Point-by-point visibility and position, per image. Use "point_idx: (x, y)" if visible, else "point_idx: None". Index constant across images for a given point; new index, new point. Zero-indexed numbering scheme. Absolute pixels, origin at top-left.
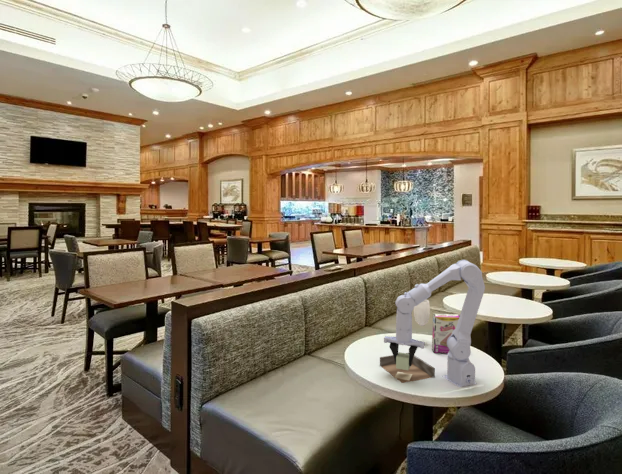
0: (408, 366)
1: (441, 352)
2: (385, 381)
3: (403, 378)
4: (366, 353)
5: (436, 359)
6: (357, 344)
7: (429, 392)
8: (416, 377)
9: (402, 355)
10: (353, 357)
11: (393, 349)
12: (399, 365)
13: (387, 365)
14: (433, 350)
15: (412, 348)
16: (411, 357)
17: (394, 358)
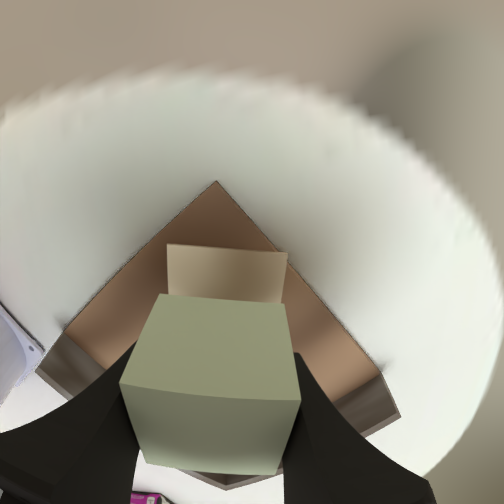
0: (150, 321)
1: (138, 494)
2: (347, 193)
3: (215, 261)
4: (418, 441)
5: (135, 469)
6: (431, 466)
7: (36, 147)
8: (136, 307)
9: (220, 436)
10: (474, 394)
11: (364, 480)
12: (248, 322)
13: (341, 394)
14: (164, 501)
15: (23, 496)
16: (85, 397)
17: (317, 385)
